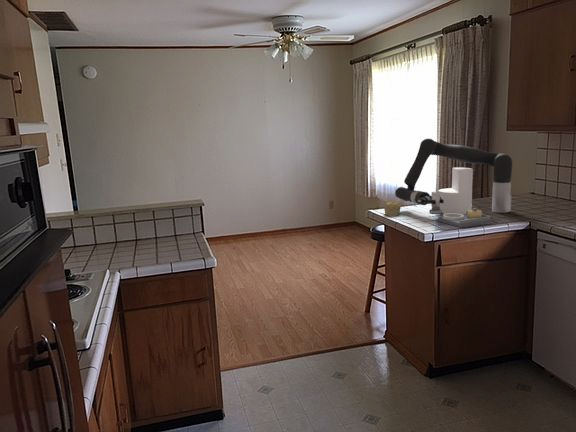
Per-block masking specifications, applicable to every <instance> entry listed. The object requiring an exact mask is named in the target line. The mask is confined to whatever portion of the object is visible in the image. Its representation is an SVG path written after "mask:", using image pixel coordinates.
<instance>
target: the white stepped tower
mask: <svg viewBox="0 0 576 432" xmlns="http://www.w3.org/2000/svg"><path fill="white" fill-rule="evenodd" d="M451 170H452V171H451V175H452V176H451V187H448V188H440V189H438V191H437V192H440V197H442V199H443V200H444V201H443V203H440V209H441V210H442V214H448V213H457V214H466V213H467V211H468V210H472V208H473V207H472V206H473V205H472V202H473V201H472V200H473V176H474V175H473V173H474V168H470V167H452V169H451Z"/></svg>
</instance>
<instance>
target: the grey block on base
mask: <svg viewBox="0 0 576 432" xmlns="http://www.w3.org/2000/svg"><path fill="white" fill-rule="evenodd" d="M431 196H432V200H436V204H431V209H429V211H428V212H429V214H431V215H441V214H442V215H443V213H442V210H441V209H440V192H438V191H431Z"/></svg>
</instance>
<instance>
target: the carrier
mask: <svg viewBox="0 0 576 432" xmlns="http://www.w3.org/2000/svg"><path fill="white" fill-rule="evenodd" d="M437 221H438V222H441V223H444V224H447V225H452V226H455V227H457V228H465V227H474V226H479V225H486V224H487V225H488V224H492V222H493V215H487V214H484V213H483V211H482V210H481V209H478V207H472V208H471V210H468V211H467V213H466V214H457V213H448V214H444V213H442V216H439V217H437Z"/></svg>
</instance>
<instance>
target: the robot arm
mask: <svg viewBox="0 0 576 432" xmlns="http://www.w3.org/2000/svg"><path fill="white" fill-rule="evenodd" d="M430 156H439V157H445V158H447V159H450V160H454V161H457V162H460V163H461V162H463V163H467V164H481V165H487V166H490V167H493V178H492V179H493V180H492V181H493V182H492V198H491V199H492V202H491V212H493V213H498V214H499V213H503V214H506V213H509V212H511V210H512V194H511V187H512V186H511V185H512V176H513V175H512V172H513V159H512V157H511V156H510V155H509V154H508V153H503V152H501V153H499V152H491V151H486V150H482V149H479V148H476V147H472V146H466V145H462V144H447V143H443V142H438V141H435V140H434V139H432V138H425V139H423V140H422V141H421V142H420V145H419V149H418V151H417V154H416V157H415V160H414V161H413V164H412V165H411V167H410V168H409V170H408V172H407V174H406V176H405V178H404V180H403V181H404V184H405V185H406V186H407V188H406V187H403V186H400V187H397V189H395V192H394V194H395V195H394V196H395V197H396V198H397V199H399V200H401V201H405V202H411V203H414V204H417V205H421V206H427V205H430V204H431V205H432V204H436V200H432V195H430V193H428V192H427V191H421V190H415V188H416V184H417V183H418V180H419V179H420V176H421V174H422V172H423V169H424V167H425V164H426V162H427V161H428V159H429V158H430ZM443 201H444V200H443V199H442V197H440V203H443Z"/></svg>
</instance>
